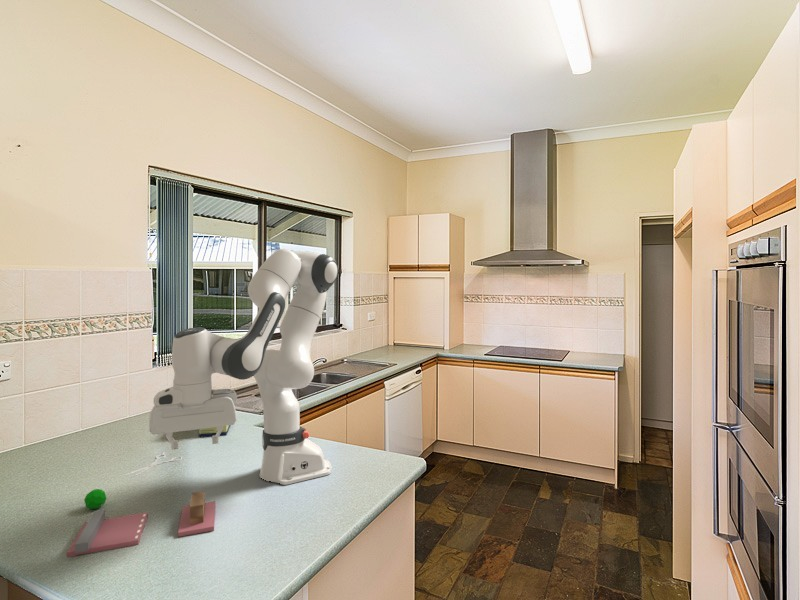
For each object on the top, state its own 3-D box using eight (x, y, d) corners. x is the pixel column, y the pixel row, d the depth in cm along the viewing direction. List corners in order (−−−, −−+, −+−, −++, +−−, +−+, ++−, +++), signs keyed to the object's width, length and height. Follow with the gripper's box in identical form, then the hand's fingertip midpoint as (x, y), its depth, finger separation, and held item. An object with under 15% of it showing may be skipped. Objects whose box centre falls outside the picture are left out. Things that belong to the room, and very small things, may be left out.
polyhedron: (102, 501, 130) (102, 484, 129) (109, 506, 127) (109, 489, 126) (81, 508, 126) (81, 491, 125) (88, 514, 123) (87, 496, 122)
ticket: (148, 514, 123) (148, 502, 122) (137, 546, 108) (137, 533, 107) (86, 523, 118) (85, 512, 118) (65, 559, 103) (65, 546, 103)
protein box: (198, 437, 182) (197, 398, 181) (205, 425, 197) (204, 389, 196) (226, 435, 184) (226, 396, 183) (231, 423, 199) (230, 387, 199)
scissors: (187, 455, 162) (138, 478, 144) (187, 457, 163) (138, 480, 144) (164, 452, 166) (113, 473, 147) (164, 454, 166) (113, 476, 147)
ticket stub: (215, 504, 127) (214, 484, 127) (213, 530, 114) (213, 508, 114) (183, 509, 124) (182, 489, 124) (178, 536, 111) (177, 514, 111)
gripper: (236, 385, 124) (238, 436, 125) (150, 393, 117) (153, 447, 118) (236, 390, 118) (239, 444, 119) (146, 399, 111) (149, 456, 112)
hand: (195, 445), depth 119 cm, fingers open, 8 cm apart
